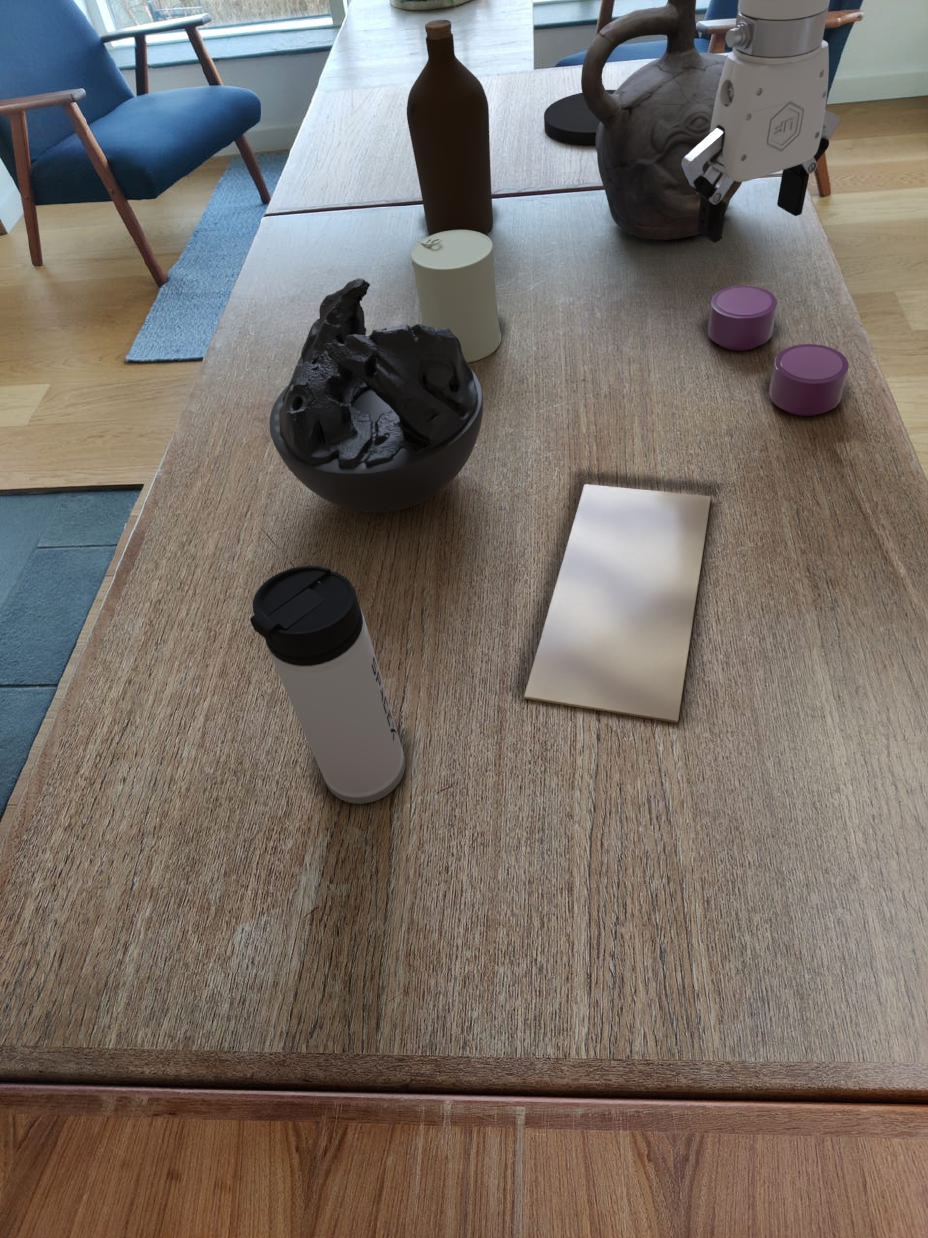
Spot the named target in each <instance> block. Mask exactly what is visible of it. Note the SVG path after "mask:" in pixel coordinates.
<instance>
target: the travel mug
mask: <svg viewBox="0 0 928 1238" xmlns="http://www.w3.org/2000/svg"><path fill="white" fill-rule="evenodd" d="M252 612H253V615H252V616H251V617H250V619H249V622H250V624H251V626H252V629H253V630H254V631H255V632H256V633H257V634H259V635H260V636H261V637H263V638H264V641H265V645H266V648H267V651H268V652H269V655H270V657H271V660H272V662H273V664H274V666H275V669H276V671H277V674H278V675H279V678H280V680H281V683H282V685H283V687H284V690H285V691H286V694H287V697H288V699H289V701H290V704H291V706H292V709H293V710H294V713H295V715H296V717H297V719H298V722H299V724H300V726H301V727H300V728H301V729H302V731H303V734H304V736H305V739H306V741H307V742H308V745H309V747H310V749H311V752H312V753H313V757H314V759H315V761H316V764H317V766H318V768H319V770H320V773H321V774H322V777H323V779H324V782H325V785H326V786H327V788H328V790H329V792H331V793H332V794H333V796H335V797H336V798H337V799H339V800H341V801H343V802H346V803H350V804H355V805H357V804H358V805H359V804H362V805H363V804H369V803H372V802H376V801H379V800H381V799H382V798H384V797H386V796H388V795H389V794H390V793H392V792H393V791H394V790H395V789H396V787H397V786H398V785H399V784H400V782H401V781H402V779H403V776H404V773H405V770H406V756H405V753H404V750H403V746H402V742H401V739H400V736H399V731H398V729H397V726H396V722H395V718H394V716H393V712H392V709H391V705H390V702H389V697H388V695H387V691H386V688H385V685H384V681H383V677H382V673H381V671H380V668H379V664H378V660H377V657H376V654H375V650H374V647H373V643H372V639H371V637H370V632H369V629H368V626H367V623H366V620H365V616H364V613H363V610H362V607H361V606H360V602H359V599H358V594H357V592H356V589H355V588H354V585H352V583H351V581H350V580H349V578H347V577H346V576H345V575H343V574H341V573H340V572H338V571H332V570H331V568H328V567H325V566H321V565H301V566H296V567H291V568H288V569H285V570H283V571H280V572H279V573H277V574H274V575H273V576H271V577H270V578H268V579H267V580H266V581H264V582H263V584H262V585H261V586H259V588H258V589H257V591H256V593H255V594H254V597H253V599H252Z"/></svg>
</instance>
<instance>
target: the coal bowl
mask: <svg viewBox="0 0 928 1238" xmlns="http://www.w3.org/2000/svg"><path fill="white" fill-rule="evenodd" d="M370 286H371V283H370V282H368V281H366V279H364V278H360V277H359V278H356V279H353V280H350V281H348V282H347V283H346V284H345V285H344V287H343V288H341V289H338V290H337V291H335V292H333V293H331V294H328V295H326V296H325V297H324V298H323V300H322V302H321V303H320V305H319V310H318V312H319V318H317V319H316V320H315V321H313V323H312V325H311V327H310V329H309V331H308V334H307V337H306V339H305V342H304V344H303V346H302V348H301V352H300V356H299V358H298V360H297V363H296V365H295V368H294V370H293V373H292V376H291V379H290V381H289V382H288V385H287V386H285V388H284V389H283V390H282V391H281V392H280V394H279V396H277V398H276V400H275V402H274V404H273V406H272V408H271V411H270V415H269V433H270V438H271V440H272V442H273V445H274V447H275V449H276V451H277V453H278V455H279V457H280V458H281V460H282V461H283V463H284V465H286V467H287V468H288V470H289V471H290V472H291V474H293V475H294V476H295V478H296V479H297V480H298V481H299V482H300V483H301V484H303V485H304V486H305V487H306V488H307V489H308V490H309V491H311V492H313V493H314V494H316V495H317V496H318V497H320V498H322V499H324V500H325V501H328V502H329V503H332V504H333V505H336V506H339V507H342V508H344V509H349V510H353V511H357V512H364V513H390V512H396V511H401V510H405V509H408V508H411V507H414V506H416V505H418V504H421V503H423V502H426V501H427V500H428V499H430V498H432V497H433V496H435V495H437V494H438V493H440V492H441V491H442V490H443V489H444V488H446V487H447V486H448V485H449V484H450V483H451V482H452V481H453V480H454V479H455V478H456V477H457V475H458V474H459V473H460V472H461V470H462V469H463V468H464V466H465V465H466V463H467V461H468V460H469V459H470V456H471V454H472V452H473V450H474V448H475V446H476V443H477V440H478V437H479V434H480V431H481V425H482V420H483V415H484V414H483V413H484V393H483V388H482V386H481V383H480V380H479V379H478V377H477V375H476V374H475V372H474V371H473V370H472V369H471V367H470V365H469V363H467V361H466V359H465V357H464V355H463V353H462V349H461V344H460V342H459V340H458V338H457V337H456V336H454V334H453V333H452V332H451V331H450V329H449V328H447V327H444V328H433V327H431V326H425V325H423V324H422V323H421V324H420V323H417V324H415V325H412V326H410V325H408V324H402V325H393V326H388V327H385V328H377V329H373V330H372V332H371V334H369V335H367V328H366V326H365V323H366V322H365V312H364V308H363V306H362V304H361V302H362V301H363V298H364V297H365V296H366V295H367V294H368V290H369V289H370V288H369V287H370Z"/></svg>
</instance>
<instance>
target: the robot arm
mask: <svg viewBox="0 0 928 1238" xmlns="http://www.w3.org/2000/svg"><path fill="white" fill-rule="evenodd" d="M830 2H831V0H738V3H737V11H736V19H735V25H734V27H733V28H731V29H728V30H727V31H726V33H725V43H726V46H727V47H728V48H732V51H730V52H728V53H727V55H726V56H727V58H726V61H725V64H724V67H723V71H722V75H721V78H720V82H719V86H718V91H717V95H716V100H715V105H714V110H713V116H712V121H711V128H710V135H709V136H707V137H706V138H705V139H704V140H703V141H702V142H701V143H700V144H698V145H697V146H696V147H695V148H694V149H693V150H692V151H690V152H689V153H688V154H687V155H686V156H685V157H684V158H683V159H682V162H681V164H682V167H683V170H684V173H685V175H686V177H687V183H688V184H689V185H690V186H691V187H692V188H693V189H694V190H695V191H696V193H697V194H698V195H700V196H701V199H700V208H699V218H698V231H699V233H700V235H702V236H703V237H704V238H706V239H707V240H709V241H711V242H712V243H714V244H716V243H719V242H721V241H722V239H723V233H724V227H725V225H724V224H725V219H726V218H725V217H726V214H725V210H726V203H725V202H724V201H722V200H721V199H722V198H723V196H724V195H725V194H726V192H727V191H728V189H729V188H730V186H731V185H732V183H733V182H734V181H737V182H742V183H743V182H749V181H752V180H756V179H759V178H763V177H765V176H769V175H772V174H774V173H775V174H776V173H778V172H781V171H782V173H781V179H780V186H779V190H778V197H777V203H776V205H777V207H779V208H780V209H782V210H784V211H785V212H787V213H788V214H791V215H792V216H795V217H797V216H801V215H802V214H803V209H804V204H805V199H806V193H807V190H808V184H809V178H810V175H811V174H813V173H814V172H815V171H816V169H817V167H818V162H819V160H820V159H821V157H822V156H823V154H824V153H825V152H826V151H827V149H828V148H829V146H830V139H832V137H833V136H834V134H835V132H836V130H837V128H838V126H839V124H840V122H841V116H840V115H839V114H836V113H833V112H831V111H829V110H827V109H826V106H827V99H828V88H829V73H830V54H829V53H830V52H829V43H828V42H827V41H826V40H824V34H825V29H826V23H827V17H828V13H829V6H830ZM707 161H708V164H709V166H710V167H709V168H708V170H707V171H706V173H705V174H703V173H704V172H703V166H704V164H705V163H706V162H707ZM720 173H721V174H723V175H722V177H721V178H720V180H719V181H718V183H717V184H716V186H715V187H714V186H713V183H714V182H715V180H716V179H717V177H718V176H719V174H720Z"/></svg>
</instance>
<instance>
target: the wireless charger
mask: <svg viewBox="0 0 928 1238" xmlns="http://www.w3.org/2000/svg"><path fill="white" fill-rule="evenodd" d="M605 90H606V91H607V92H608V93H609V94H613V93H614V92H615V91H616V90H617V89H605ZM543 123H544V124H543V125H544V127H543V128H544V132H545V134H546V136H548V137H549V138H550V139H552V140H554V141H556V142H559V143H562V144H565V145H570V146H571V145H572V146H579V147H596V144H595V138H596V133H597V129H598V126H599V124H600V121H599V120H598V119H597V118H596V117H595V116H594V114H593V113H592V112H591V111H590V109H589V108H588V106H587V104H586V101H585V99H584V97H583V93H582V92H579V93H573V94H570V95H567V96H565V97H562V98H560V99H558V100H556V101H554V102H553V103H551V104H550V105H548V107H547V108H546V109H545V110H544V113H543Z"/></svg>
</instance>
